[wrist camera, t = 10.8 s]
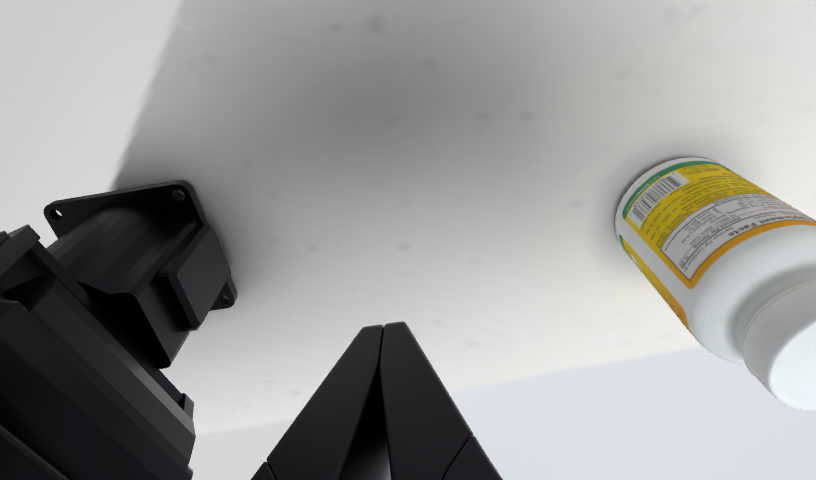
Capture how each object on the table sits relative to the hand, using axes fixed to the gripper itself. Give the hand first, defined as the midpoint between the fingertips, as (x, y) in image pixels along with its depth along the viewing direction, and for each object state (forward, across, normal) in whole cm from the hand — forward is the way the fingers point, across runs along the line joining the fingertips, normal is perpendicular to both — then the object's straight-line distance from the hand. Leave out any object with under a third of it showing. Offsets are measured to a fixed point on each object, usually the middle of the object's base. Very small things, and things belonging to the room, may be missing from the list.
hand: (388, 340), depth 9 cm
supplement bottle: (+12, -12, +5) cm, 18 cm away
